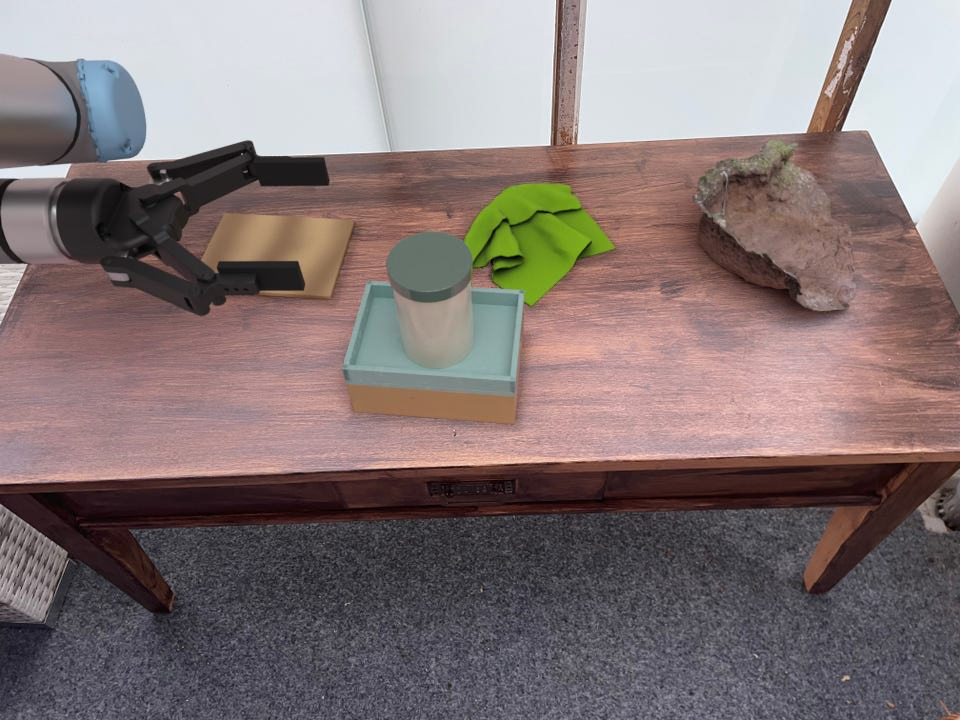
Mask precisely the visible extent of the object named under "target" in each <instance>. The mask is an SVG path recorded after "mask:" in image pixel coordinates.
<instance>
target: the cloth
mask: <svg viewBox="0 0 960 720" xmlns="http://www.w3.org/2000/svg"><path fill="white" fill-rule="evenodd" d="M580 201H581V200H580V199H579V198H578V196H576V195H573V194H572V187H571V185H568V184H563V183H551V182H540V183H539V182H538V183H529V182H528V183H523V184H518V185H509V186H508V187H505V188H504V189H502V190H501V191H500V194H499V195H497V196H495V197H494V199H493V200H492V201H491V202H490V203H489V204H487V205H486V206H485V207H484V208H483V209H481V211H479V213H478V214H477V216H476V217H475V219H474V221H473V223H472V224H471V226H470V228H469V230H468V232H467V234H466V235H465V237H464V239H463V240H462V241H463V242H464V243H465V244H466V245H467V246H468V247H469V249H470V251H471V254H472V259H473V269H477V268H478V269H479V268H483V267H486V266H487V265H488V263H489V261H491V260H492V259H493V260H492V264H493V265H492V267H491V269H492V270H491V278H492V279H491V280H492V282H493V283H494V284H496V285H497V286H498V287H499V288H500V289H512V290H525V296H524V304H525V305H526V304H527V305H528V306H529V307H533V306H534V305H535V304H537V302H538V301H540V299H542V297H544V296H545V295H546V294H547V293H548V292H549V291H550V290H551V289H552V288H553V287H555V285H557V283H559V282H560V281H561V280H562V279H563V278H564V277H565V276H566V275H567V274H568V273H569V272H570V271H571V270H572V269H573V267H574V265H575V263H576V261H577V260H580V259H584V258H587V257H592V256H597V255H600V254H603V253H606V252H610V251H614V250H616V248H617V247H615V245H614V244H613V243H612V241H611V240H610V239H609V237H608V236H607V235H606V233H605V232H604V231H603V230H602V228H601V227H600V226H599V225H598V223H597V222H596V221H595V220H594V218H593V217H591V216H590V214H588V212H587V211H586V209H584V207H582V204H581V202H580Z"/></svg>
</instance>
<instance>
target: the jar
mask: <svg viewBox="0 0 960 720" xmlns="http://www.w3.org/2000/svg"><path fill="white" fill-rule="evenodd" d="M463 241H464V240H462V239H461V238H459V237H457V236H455V235H453V234H450V233H447V232H441V231H423V232H418V233H414V234H411V235H408V236H406V237H404V238H402V239H401V240H399V242H397V243H396V244H394V245H393V247H392V248H391V249H390V251H389V253H388V255H387V256H386V257H387V258H386V260H385V261H386V262H385V267H386V272H387V278H388V282H390V285H391V286H392V290H393V295H394V301H395V307H396V313H397V318H398V324H399V330H400V335H401V341H402V347H403V350H404V352H405V354H406V355H407V357H408V358H409V359H410V360H411V361H413V362H414V363H416V364H418V365H420V366H423V367H427V368H435V369H438V368H446V367H450V366H453V365H455V364H457V363H459V362H461V361H462V360H463V359H465V358H466V357H467V356H468V354H469V353H470V352H471V350H472V348H473V345H474V320H473V301H472V287H473V286H472V285H473V282H472V281H473V280H472V278H473V274H474V268H473V259H472V254H471V251H470V249H469V247H468V246H467V245H466V244H465V243H464V242H463Z"/></svg>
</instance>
